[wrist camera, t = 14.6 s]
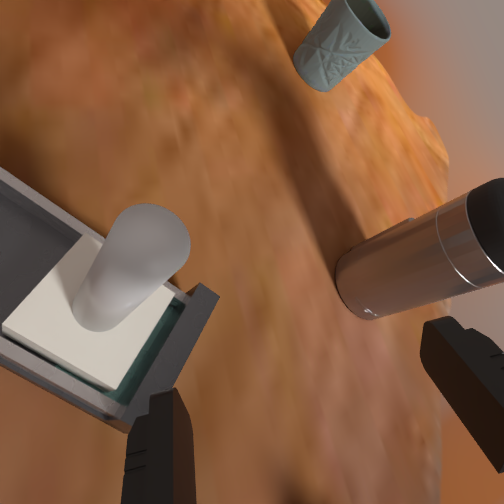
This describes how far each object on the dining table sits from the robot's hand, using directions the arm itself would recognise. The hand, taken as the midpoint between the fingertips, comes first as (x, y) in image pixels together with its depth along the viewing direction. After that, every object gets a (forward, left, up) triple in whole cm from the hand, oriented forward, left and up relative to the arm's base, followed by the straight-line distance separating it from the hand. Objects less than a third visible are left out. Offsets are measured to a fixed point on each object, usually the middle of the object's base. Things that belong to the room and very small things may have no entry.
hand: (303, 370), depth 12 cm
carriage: (-4, -6, -20) cm, 21 cm away
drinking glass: (-58, -1, -22) cm, 62 cm away
